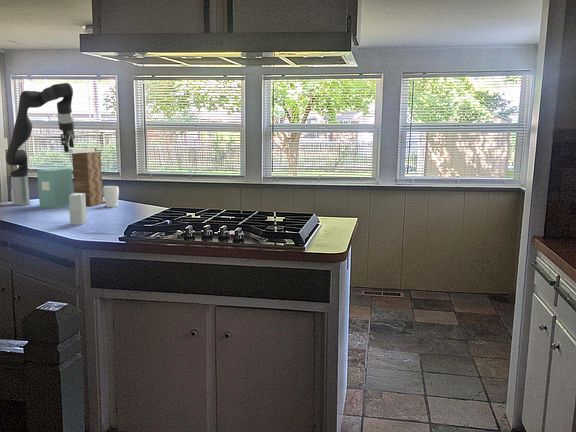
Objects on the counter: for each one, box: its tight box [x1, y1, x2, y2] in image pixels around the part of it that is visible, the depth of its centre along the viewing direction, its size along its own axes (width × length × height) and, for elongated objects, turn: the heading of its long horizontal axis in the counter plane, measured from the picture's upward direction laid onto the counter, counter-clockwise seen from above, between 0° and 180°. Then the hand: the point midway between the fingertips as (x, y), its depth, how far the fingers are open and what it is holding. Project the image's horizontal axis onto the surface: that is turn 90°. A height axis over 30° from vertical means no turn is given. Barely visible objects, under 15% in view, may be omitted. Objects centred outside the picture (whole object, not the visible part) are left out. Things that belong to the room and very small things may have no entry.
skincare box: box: [68, 192, 87, 226], centre depth 257 cm, size 8×6×15 cm
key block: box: [36, 167, 74, 209], centre depth 314 cm, size 18×10×22 cm, turn 167°
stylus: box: [68, 147, 97, 155], centre depth 313 cm, size 24×2×2 cm, turn 167°
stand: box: [71, 151, 106, 208], centre depth 319 cm, size 16×12×32 cm
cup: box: [102, 185, 120, 208], centre depth 314 cm, size 9×9×12 cm
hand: (69, 149), depth 289 cm, fingers open, 8 cm apart
